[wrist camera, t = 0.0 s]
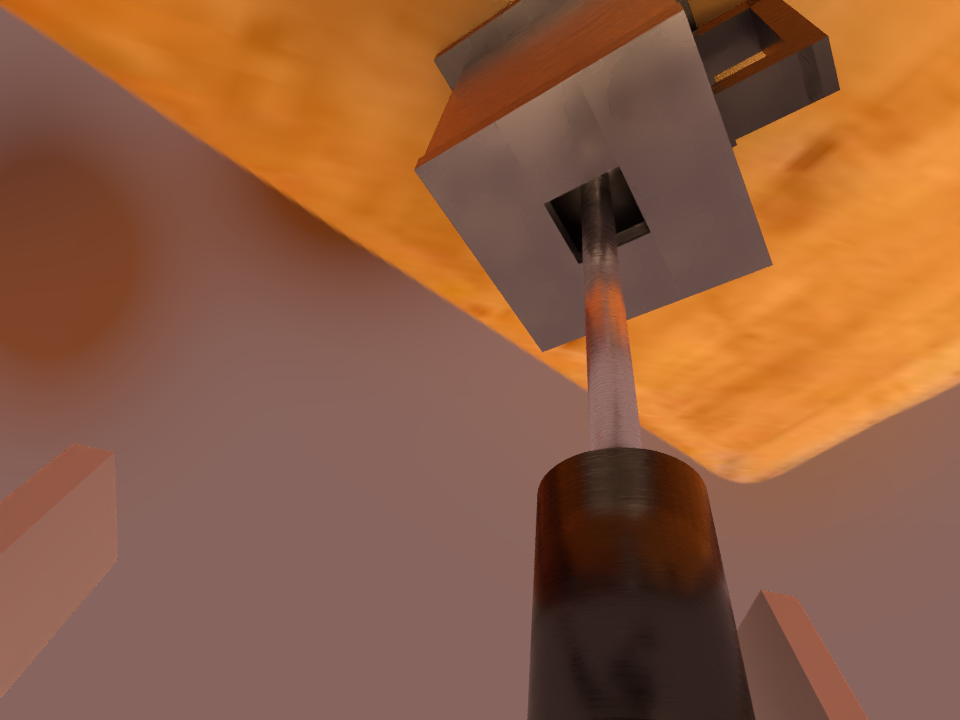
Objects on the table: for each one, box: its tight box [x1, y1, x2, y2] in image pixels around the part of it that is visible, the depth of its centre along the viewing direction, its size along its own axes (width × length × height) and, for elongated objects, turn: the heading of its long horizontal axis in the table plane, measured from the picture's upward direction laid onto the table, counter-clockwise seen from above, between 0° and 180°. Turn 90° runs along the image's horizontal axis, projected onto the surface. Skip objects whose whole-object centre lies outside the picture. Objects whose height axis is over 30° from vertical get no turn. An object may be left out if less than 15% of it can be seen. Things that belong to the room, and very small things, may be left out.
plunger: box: [527, 166, 756, 720], centre depth 17 cm, size 8×8×22 cm
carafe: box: [414, 0, 840, 352], centre depth 26 cm, size 15×12×14 cm
